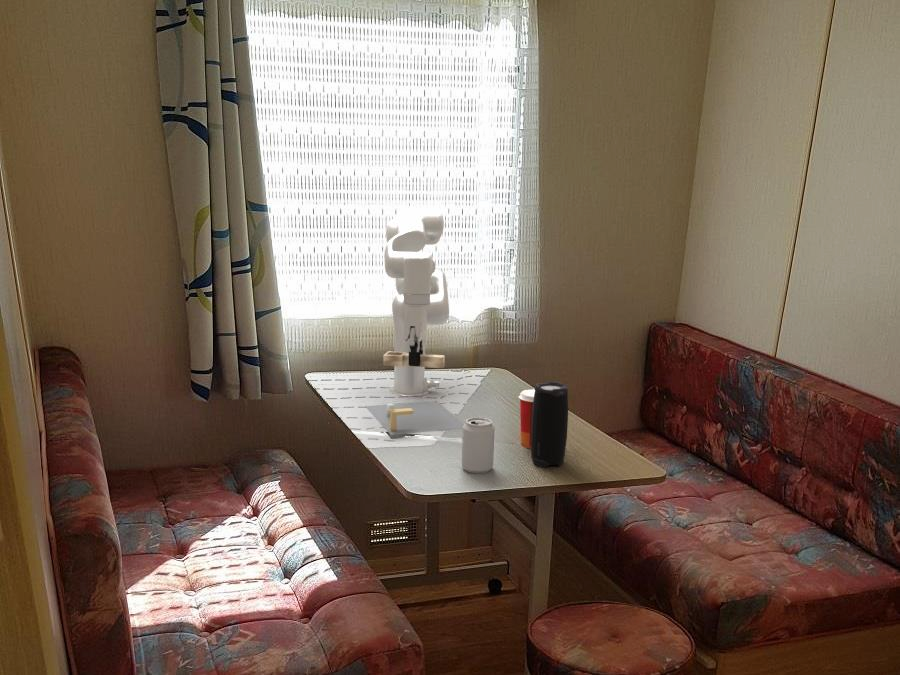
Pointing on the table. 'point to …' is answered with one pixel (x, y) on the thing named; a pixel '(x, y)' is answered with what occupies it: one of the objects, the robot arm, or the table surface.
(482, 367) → the table surface
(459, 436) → the table surface
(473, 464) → the can
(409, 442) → the table surface
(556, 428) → the portable speaker
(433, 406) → the slate base
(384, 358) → the wooden link
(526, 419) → the paper cup
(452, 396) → the table surface
